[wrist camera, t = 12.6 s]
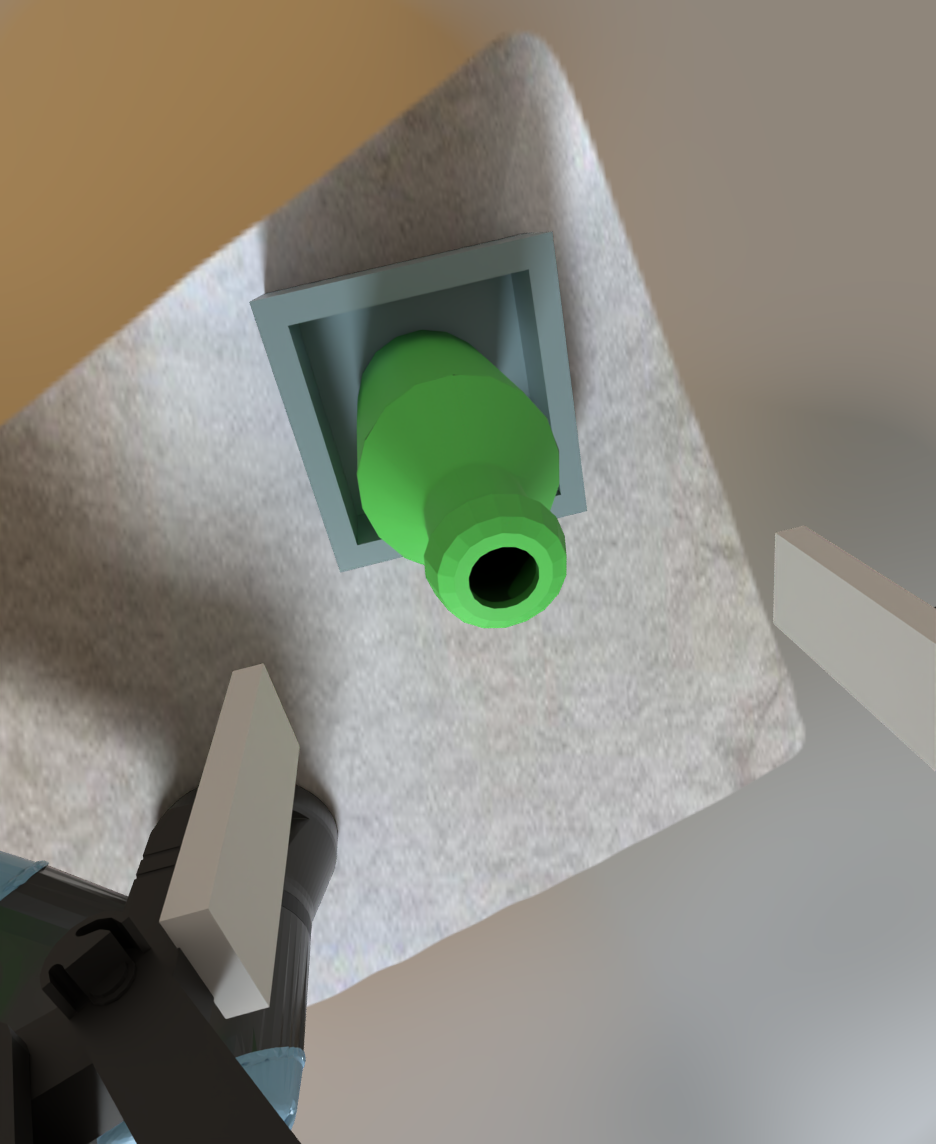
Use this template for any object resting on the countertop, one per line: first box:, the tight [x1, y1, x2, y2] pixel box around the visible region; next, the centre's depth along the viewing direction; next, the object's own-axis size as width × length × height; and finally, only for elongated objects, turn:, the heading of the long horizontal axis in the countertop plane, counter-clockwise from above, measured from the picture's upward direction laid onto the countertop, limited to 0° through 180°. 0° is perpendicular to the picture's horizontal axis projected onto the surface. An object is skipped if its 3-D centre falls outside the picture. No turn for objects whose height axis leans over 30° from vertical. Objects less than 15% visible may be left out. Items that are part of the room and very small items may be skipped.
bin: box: [250, 232, 587, 572], centre depth 40 cm, size 16×16×6 cm
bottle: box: [357, 330, 566, 628], centre depth 31 cm, size 9×9×25 cm
